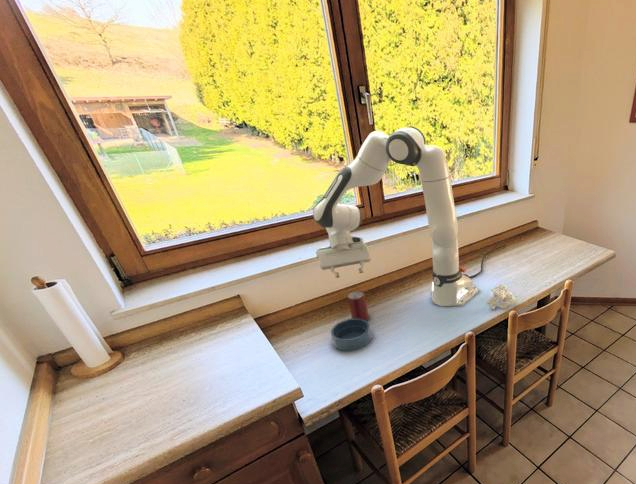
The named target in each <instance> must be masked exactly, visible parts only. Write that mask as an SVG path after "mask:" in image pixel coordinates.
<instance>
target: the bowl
mask: <svg viewBox="0 0 636 484" xmlns="http://www.w3.org/2000/svg"><path fill="white" fill-rule="evenodd" d="M330 336H331V340H332V344H333V346H334V348H335V349H337V350H339V351H342V352H352V351H357V350H360V349H362V348H365V347H366V346H367V345H368V344H370V342H371V340H372V338H373V337H372V336H373V335H372V329H371V325H370V323H369V321H366V320H363V319H356V318H354V319H352V318H348V319H344V320H341V321H339V322H337V323H336V324H335V325H333V327H332V328H331V330H330Z"/></svg>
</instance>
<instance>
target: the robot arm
mask: <svg viewBox="0 0 636 484" xmlns="http://www.w3.org/2000/svg"><path fill="white" fill-rule="evenodd" d="M426 143H427V142H426V137H425V135H424V133H423V132H422V131H421V129H419V128H417V127H415V126H406V127H401V128H399V129H396V130H395V131H394V132H392V133H390V134H389V135H388V134H386V133H385V132H382V131H379V130H374V131H372V132H370V133H369V134H368V136H367V137H366V139H364V141H363V143H362V144H361V146H360V148H359V151H358V153H357V155H356V156H355V158H354V159H353V160H352V162H350V164H348V165H347V166H344V167H343V168H341V169H340V171H338V173H337V174H336V176H335V177H334V179H333V181H332V182H331V184H330V185H329V187H328V188H327V190H326V191H325V193H324V195H323V196H322V198H321V199H320V200H319V201H317V203H316V204H315V205H314V208H313V209H312V210H313V211H312V217H313V220H314V221H315V223H316V224H317V225H318V226H320V228H324V229H325V230H326V232H327V234H328V242H329V245H328V246H324V247H318V248H317V250H315V254H316V257H317V258H318V263H319V267H320V269H321V270H322V271H325V270H330V271H331V273H333V275H334V276H335V279H338V278H340V273H339V271H336V270H335V269H337V268H341V267H348V266H354V265H359V266H360V267H359V268H358V273H359V274H363V273H364V265H365V263H369V262H371V260H372V255H371V252H370V249H369V247H368V246H367V244H365V242H364V238H363V237H360V236H359V237H358V236H352V235H351V232H352V231H355V230H356V229H358V228H360V226H361V224H362V222H363V215H362V212H361V210H360V208H358V206H356V205H351V204H347V203H346V204H345V203H340V201H341V200H342V198H343V196H344V195H345V194H346V192H348V191H350V190H351V189H355V188H359V187H368V186H374V185H376V184H378V183H379V182H380V181H381V180H382V179H383V177H384V175H385V173H386V171H387V169H388V167H389V164H390V163H391V162H393V163H395V164H399V165H404V166H409V167H415V166H416V168H417V169H418V173H419V178H420V185H421V189H422V193H423V197H424V198H423V199H424V204H425V210H426V216H427V217H426V218H427V223H428V229H429V234H430V238H431V256H432V257H431V258H432V272H431V273H432V284H431V285H432V286H431V293H432V294H431V298H430V299H431V302H432V303H433V304H435V305H437V306H440V307H453V306H456V307H462V306H465V304H467V302H469V301H470V300H471V299H472V298H474V296H475V295H477V294H478V293H479V289H478V288H477V286H475V285H474V283H473V280H472V279H471V278H475V277H477V276H478V275H480V274H481V273H482V272H483V265H484V260H485V258H486V257H487V256H488V255H489V254H490V253H492V252H494V251H496V250H499V249H501V248H504V247H507V246H506V244H503V245H501V246H498V247H495V248H493V249H491V250H489V251H487V252H486V253H485V254H484V255H483V257H482V259H481V263H480V270H479V272H477V273H475V274H473V275H470V276H469V275H468V274H467V273H466V272H467V268H466V267H463V266H462V267H461V266H460V256H459V255H460V253H459V235H460V234H459V224H458V218H457V213H456V205H455V200H454V198H455V197H454V192H453V186H452V181H451V179H452V178H451V174H450V170H449V165H448V161H447V158H446V154H445V152H444V149H442V148H441V147H440V146H437V145H427V144H426Z"/></svg>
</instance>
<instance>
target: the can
mask: <svg viewBox="0 0 636 484" xmlns="http://www.w3.org/2000/svg"><path fill="white" fill-rule="evenodd" d="M347 301H348V305H349V311H350V315H351V319H354V318H356V319H363V320H366V321H367V322H369V320H370V316H369V311H368V304H367V300H366V294H365V292H363V291H352V292H350V293H349V294H348V295H347Z"/></svg>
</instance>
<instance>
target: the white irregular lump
mask: <svg viewBox="0 0 636 484" xmlns="http://www.w3.org/2000/svg"><path fill="white" fill-rule="evenodd" d="M491 293H492V297H491V298H490V299H489V300H488V301H486V303H485V304H486V305H487V306H489V307H490V308H491V309H492V310H496V307H500V308H501V309H503V310H505V309H507V308H508V307H511V306H512V305H515V304H516V303H517V301H518V298H517V296H515V295H514V294H513V292H511V291H509V290H507V288H506V286H505V285H504V284H502V283H499V285H497V286H496V287H494V288H492V289H491Z"/></svg>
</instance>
